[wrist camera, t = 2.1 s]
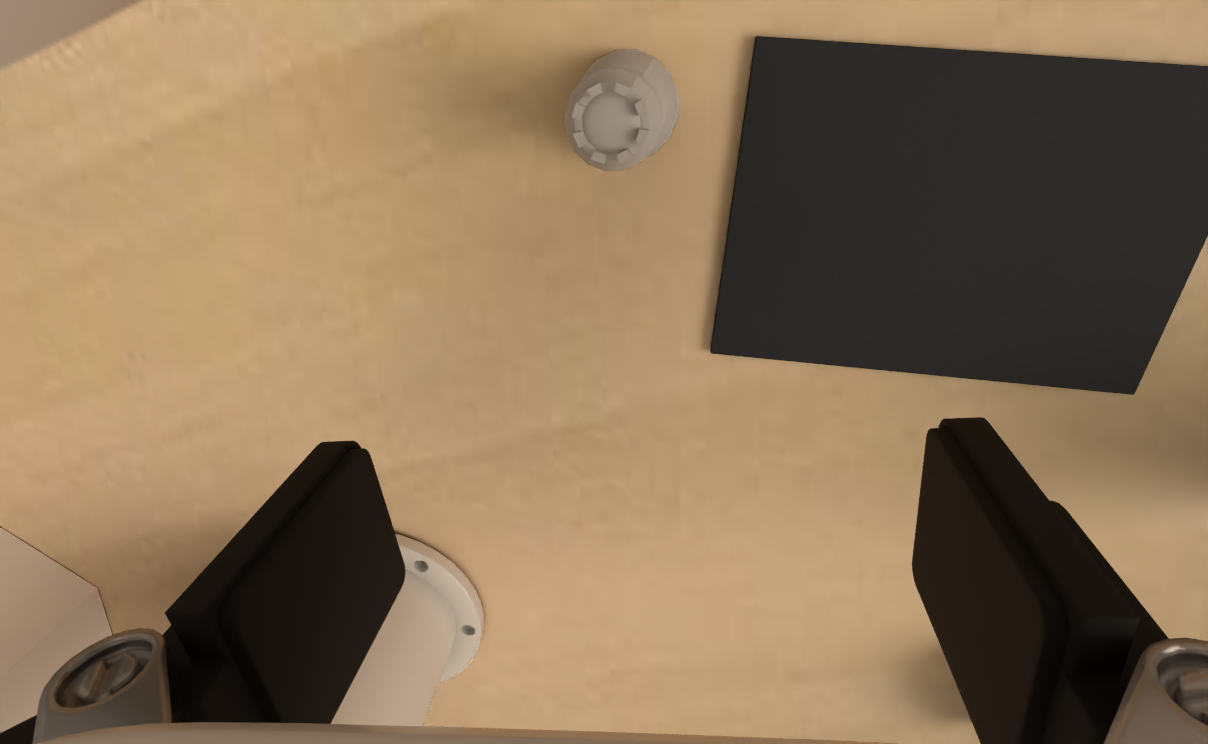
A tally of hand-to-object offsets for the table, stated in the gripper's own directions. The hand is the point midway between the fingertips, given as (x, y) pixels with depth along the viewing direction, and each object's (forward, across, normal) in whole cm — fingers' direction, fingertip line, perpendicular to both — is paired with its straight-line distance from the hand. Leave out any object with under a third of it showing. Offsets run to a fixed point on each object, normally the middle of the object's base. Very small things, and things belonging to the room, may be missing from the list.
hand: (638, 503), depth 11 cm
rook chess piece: (+22, +2, -4) cm, 22 cm away
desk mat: (+22, -12, +2) cm, 25 cm away
